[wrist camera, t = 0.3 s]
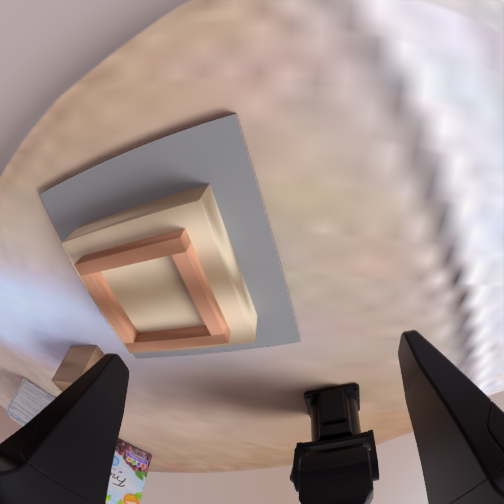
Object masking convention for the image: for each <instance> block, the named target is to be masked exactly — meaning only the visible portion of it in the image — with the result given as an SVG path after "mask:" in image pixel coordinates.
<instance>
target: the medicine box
mask: <svg viewBox="0 0 504 504" xmlns="http://www.w3.org/2000/svg"><path fill="white" fill-rule="evenodd" d="M55 398H56V397H54V396H52V395H51V394H49V393H47V392H46V391H44V390H43V389H41V388H39V387H38V386H36V385H35V384H33V383H32V382H30V381H29V380H27V379H26V378H24V379H23V381H22V382H21V384H20V386H19V388H18V390H17V391H16V393H15V395H14V396H13V398H12V400H11V402H10V404H9V406H8V407H7V409H6V410H7V413H8V415H9V417H10V418H12V419H13V420H15V421H16V422H17V423H19V424H20V425H22V426H24V425H25V424H27V423H28V422H29V421H30V420H31V419H32V418H34V417H35V416H36V415H37V414H38V413H40V411H42V410H43V409H44V408H45V407H46V406H47V405H48V404H49V403H51V402H52V401H53V400H54V399H55Z"/></svg>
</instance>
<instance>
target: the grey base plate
mask: <svg viewBox="0 0 504 504" xmlns="http://www.w3.org/2000/svg"><path fill="white" fill-rule="evenodd" d="M207 184H210V186H211V189H212V192H213V195H214V198H215V200H216V203H217V206H218V209H219V212H220V215H221V217H222V220H223V223H224V226H225V229H226V231H227V234H228V237H229V240H230V243H231V245H232V248H233V251H234V254H235V256H236V259H237V262H238V265H239V267H240V270H241V273H242V276H243V278H244V281H245V284H246V287H247V289H248V292H249V295H250V297H251V300H252V303H253V306H254V308H255V311H256V314H257V326H256V337H255V342H252V343H244V344H236V345H227V346H218V347H208V348H198V349H187V350H175V351H160V352H144V353H133V355H134V356H135V357H136V358H150V357H168V356H183V355H196V354H207V353H218V352H227V351H236V350H245V349H253V348H261V347H268V346H275V345H282V344H289V343H295V342H300V333H299V329H298V325H297V321H296V318H295V314H294V310H293V306H292V303H291V299H290V295H289V292H288V288H287V284H286V281H285V277H284V273H283V270H282V266H281V262H280V259H279V255H278V252H277V248H276V244H275V241H274V237H273V234H272V230H271V227H270V223H269V220H268V216H267V213H266V209H265V206H264V202H263V199H262V196H261V192H260V189H259V185H258V182H257V179H256V175H255V172H254V168H253V165H252V162H251V158H250V155H249V152H248V148H247V145H246V142H245V139H244V135H243V132H242V129H241V126H240V122H239V119H238V116H237V113H235V114H232V115H228V116H225V117H222V118H218V119H215V120H212V121H209V122H205V123H202V124H199V125H196V126H193V127H190V128H187V129H184V130H181V131H179V132H176V133H173V134H170V135H167V136H165V137H162V138H159V139H157V140H154V141H152V142H149V143H146V144H144V145H141V146H139V147H136V148H134V149H132V150H129V151H127V152H124V153H122V154H120V155H117V156H115V157H113V158H111V159H108V160H106V161H104V162H102V163H99V164H97V165H95V166H93V167H91V168H89V169H87V170H85V171H82V172H80V173H78V174H76V175H74V176H72V177H70V178H68V179H66V180H64V181H63V182H61V183H59V184H57V185H55V186H53V187H51V188H49V189H47V190H46V191H44V192H42V193H41V194H39V195H40V198H41V200H42V202H43V204H44V206H45V208H46V211H47V213H48V215H49V217H50V219H51V221H52V223H53V225H54V227H55V229H56V231H57V233H58V235H59V237H60V239H61V241H62V242H63V241H64V240H65V239H66V238H67V237H68V236H69V235H70V234H71V233H72V232H73V231H74V230H75V229H77V228H78V227H79V226H80V225H83V224H86V223H88V222H91V221H94V220H97V219H99V218H102V217H105V216H108V215H111V214H114V213H117V212H119V211H122V210H125V209H128V208H131V207H134V206H137V205H141V204H144V203H147V202H150V201H153V200H156V199H159V198H163V197H166V196H169V195H172V194H176V193H179V192H183V191H186V190H189V189H193V188H196V187H200V186H203V185H207Z"/></svg>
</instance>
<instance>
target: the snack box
mask: <svg viewBox="0 0 504 504" xmlns="http://www.w3.org/2000/svg"><path fill="white" fill-rule="evenodd" d="M151 457H152V455H151V454H149V453H146V452H144V451H142V450H140V449H138V448H136V447H134V446H132V445H130V444H128V443H126V442H124V441H123V440H121V439H119V438H118V440H117V445H116V450H115V454H114V459H113V464H112V469H111V475H110V480H109V486H108V491H107V497H106V504H140V500H141V495H142V491H143V488H144V484H145V480H146V476H147V472H148V469H149V465H150V461H151Z"/></svg>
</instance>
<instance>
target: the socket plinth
mask: <svg viewBox="0 0 504 504" xmlns="http://www.w3.org/2000/svg"><path fill="white" fill-rule="evenodd" d="M61 245H62V247H63V249H64V251H65V253H66V255H67V256H68V258H69V260H70V262H71V264H72V265H73V267H74V269H75V271H76V272H77V274H78V276H79V277H80V279H81V281H82V282H83V284H84V286H85V287H86V289H87V291H88V292H89V294H90V295H91V297H92V299H93V300H94V302H95V303H96V305H97V306H98V308H99V309H100V311H101V312H102V314H103V315H104V317H105V318H106V320H107V321H108V323H109V324H110V326H111V327H112V329H113V330H114V332H115V333H116V334H117V336H118V337H119V339H120V340H121V341H122V343H123V344H124V345H125V347H126V348H127V350H128V351H129V352H130V353H144V352H160V351H175V350H187V349H198V348H208V347H218V346H227V345H236V344H244V343H252V342H255V337H256V326H257V314H256V311H255V308H254V306H253V303H252V300H251V297H250V295H249V292H248V289H247V287H246V284H245V281H244V278H243V276H242V273H241V270H240V267H239V265H238V262H237V259H236V256H235V254H234V251H233V248H232V245H231V243H230V240H229V237H228V234H227V231H226V229H225V226H224V223H223V220H222V217H221V215H220V212H219V209H218V206H217V203H216V200H215V198H214V195H213V192H212V189H211V186H210V184H207V185H203V186H200V187H196V188H193V189H189V190H186V191H183V192H179V193H176V194H172V195H169V196H166V197H163V198H159V199H156V200H153V201H150V202H147V203H144V204H141V205H137V206H134V207H131V208H128V209H125V210H122V211H119V212H117V213H114V214H111V215H108V216H105V217H102V218H99V219H97V220H94V221H91V222H88V223H86V224H83V225H80V226H79V227H78V228H77V229H75V230H74V231H73V232H72V233H71V234H70V235H69V236H68V237H67V238H66V239H65V240H64V241H63V242H62V243H61Z"/></svg>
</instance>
